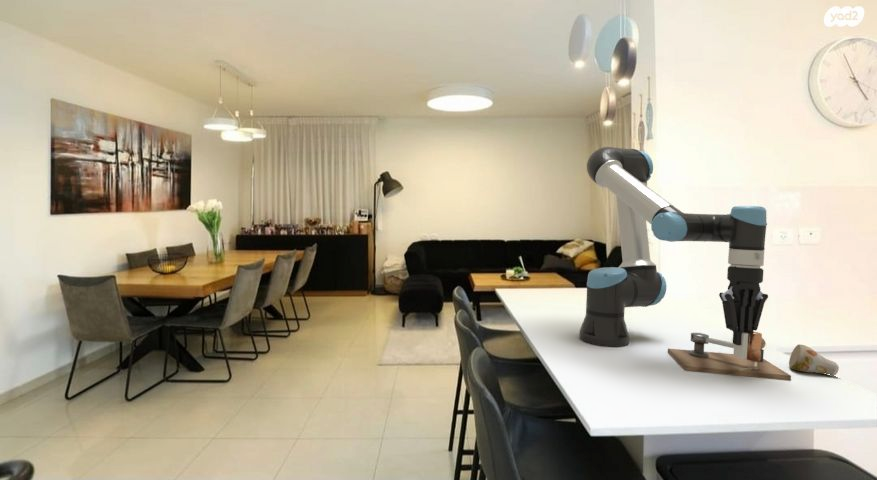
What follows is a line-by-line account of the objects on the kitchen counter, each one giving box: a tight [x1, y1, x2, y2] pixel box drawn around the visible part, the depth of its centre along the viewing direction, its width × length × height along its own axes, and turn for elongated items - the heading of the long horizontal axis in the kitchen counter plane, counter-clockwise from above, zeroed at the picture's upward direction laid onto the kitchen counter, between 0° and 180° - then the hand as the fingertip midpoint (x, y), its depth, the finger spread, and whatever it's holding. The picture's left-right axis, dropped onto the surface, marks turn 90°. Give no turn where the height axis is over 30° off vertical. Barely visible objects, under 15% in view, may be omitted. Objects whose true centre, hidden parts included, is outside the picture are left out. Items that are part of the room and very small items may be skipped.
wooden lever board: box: [667, 337, 792, 381], centre depth 119 cm, size 24×16×8 cm, turn 77°
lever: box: [690, 331, 763, 361], centre depth 119 cm, size 17×4×7 cm, turn 37°
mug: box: [788, 344, 840, 377], centre depth 115 cm, size 8×10×10 cm
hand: (739, 357), depth 112 cm, fingers closed
